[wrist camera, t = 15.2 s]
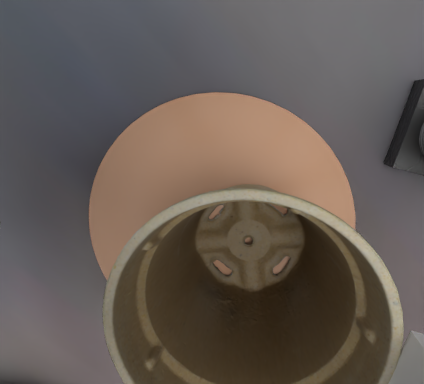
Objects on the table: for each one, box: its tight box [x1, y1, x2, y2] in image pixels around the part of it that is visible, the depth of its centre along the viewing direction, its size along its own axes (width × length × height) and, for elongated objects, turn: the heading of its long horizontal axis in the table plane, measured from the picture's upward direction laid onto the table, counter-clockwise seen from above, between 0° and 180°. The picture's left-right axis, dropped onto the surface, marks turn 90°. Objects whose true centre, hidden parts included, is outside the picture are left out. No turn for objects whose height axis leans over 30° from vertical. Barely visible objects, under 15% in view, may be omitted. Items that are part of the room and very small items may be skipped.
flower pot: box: [103, 184, 404, 384], centre depth 15 cm, size 9×9×9 cm
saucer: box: [89, 92, 355, 280], centre depth 20 cm, size 15×15×1 cm
